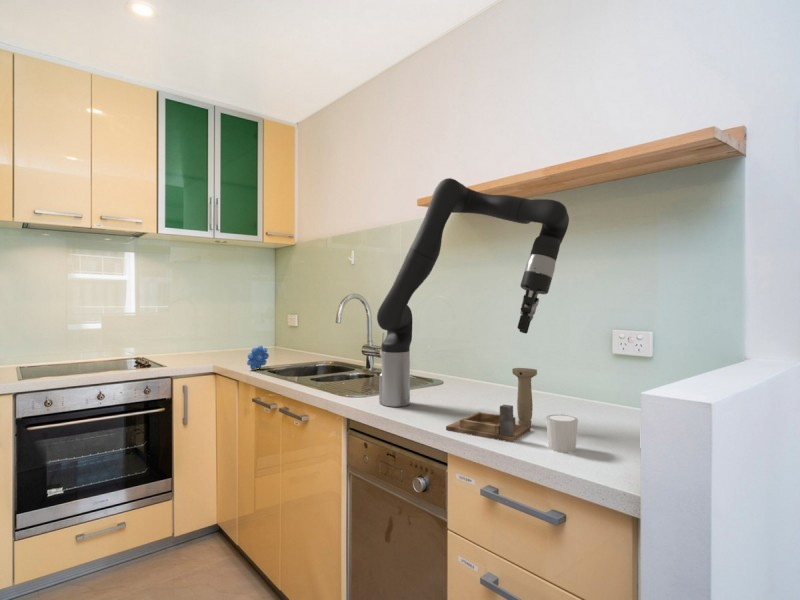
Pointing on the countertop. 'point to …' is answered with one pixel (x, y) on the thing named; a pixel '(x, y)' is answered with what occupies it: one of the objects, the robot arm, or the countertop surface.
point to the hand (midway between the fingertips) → (522, 331)
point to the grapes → (257, 357)
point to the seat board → (491, 425)
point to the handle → (524, 394)
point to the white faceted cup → (562, 432)
